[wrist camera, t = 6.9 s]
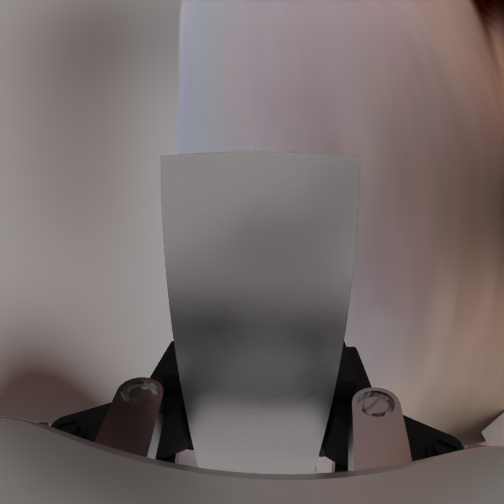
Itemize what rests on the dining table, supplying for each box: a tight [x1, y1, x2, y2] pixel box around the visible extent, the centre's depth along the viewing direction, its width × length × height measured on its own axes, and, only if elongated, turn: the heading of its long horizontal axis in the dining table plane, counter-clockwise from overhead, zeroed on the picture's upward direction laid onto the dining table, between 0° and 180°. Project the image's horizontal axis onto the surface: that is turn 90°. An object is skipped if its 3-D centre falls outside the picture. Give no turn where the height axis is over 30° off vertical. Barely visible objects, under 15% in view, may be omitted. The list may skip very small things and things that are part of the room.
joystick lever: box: [161, 152, 359, 474], centre depth 9 cm, size 17×5×4 cm, turn 0°
